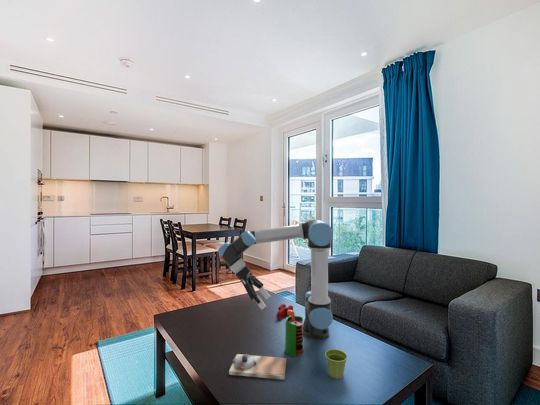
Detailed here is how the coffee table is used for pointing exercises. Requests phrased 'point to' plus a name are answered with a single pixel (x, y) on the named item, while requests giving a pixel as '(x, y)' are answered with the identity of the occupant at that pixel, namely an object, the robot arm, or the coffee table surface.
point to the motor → (294, 334)
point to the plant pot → (336, 362)
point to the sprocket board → (258, 366)
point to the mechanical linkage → (283, 311)
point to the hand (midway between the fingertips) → (266, 302)
